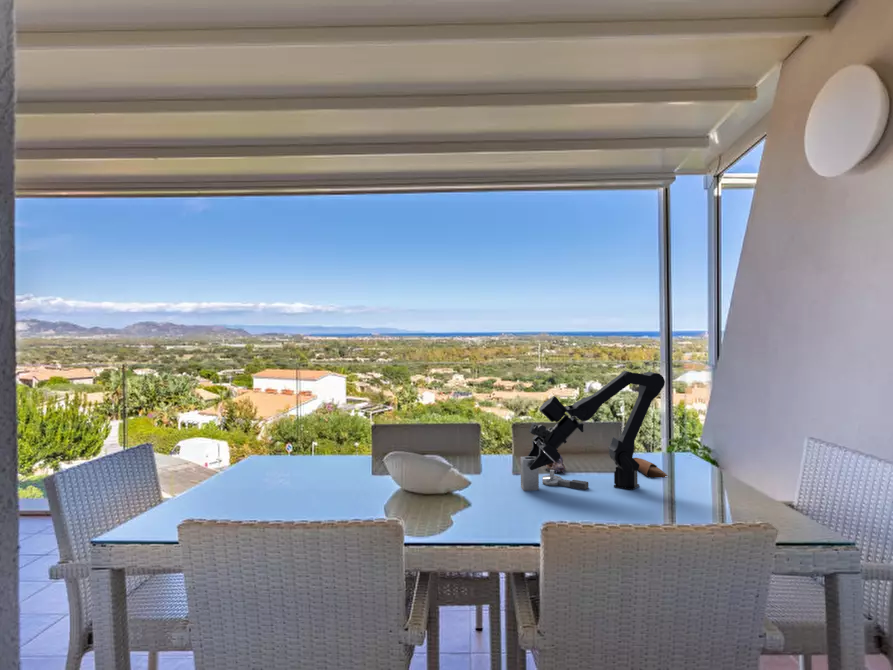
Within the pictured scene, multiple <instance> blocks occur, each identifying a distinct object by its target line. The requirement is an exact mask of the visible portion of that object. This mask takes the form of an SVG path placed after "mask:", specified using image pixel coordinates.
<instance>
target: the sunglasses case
mask: <svg viewBox="0 0 893 670" xmlns="http://www.w3.org/2000/svg"><path fill="white" fill-rule="evenodd" d="M632 458H633V459H634V460H635V461H636V462H637V463H638V464H639V465H640V466H639V468H638V471H639V472H640V473H641V474H643V475H645V476H646V477H647V478H648V477H662V478H666V477H665V476H668V477H669V475H667V473H665V471H663V470H662V469H661V468H659V467H658V465H656V464H655V463H652V462H651V461H648V460H646V459H643V458H639V457H632Z"/></svg>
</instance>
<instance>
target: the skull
mask: <svg viewBox="0 0 893 670" xmlns="http://www.w3.org/2000/svg"><path fill="white" fill-rule="evenodd" d="M552 461H553V462H554V463H551V464H548V465H545V466H544V467H546V468H547V469H549V471H550V470H554V473H556V474H557V472H562V473H563V474H565V470H566V466H565V465H564V459H563V456H562V455H561V454H560V459H559V460H558V461H557V462H555V461H554V460H552Z"/></svg>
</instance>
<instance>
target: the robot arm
mask: <svg viewBox="0 0 893 670" xmlns="http://www.w3.org/2000/svg"><path fill="white" fill-rule="evenodd" d="M630 384H631V385H636V386H638V395H637V397H636V400H635V402H634V404H633V407H632V409H631V412H630V414H629V416H628V418H627V421H626V423H625V425H624V428H623V430H622V432H621V434H620V436H618V438H616V437H612V439H611V442H610V445H609V446H608V447H607V448H608V449H609V450H608V455H609V457H610V459H611V460H612V461H613V462H614V464H615V471H614V472H613V474H614V475H613V483H614V485H613V487H614V488H617V489H618V488H619V489H624V488H625V490H630V489H632V490H633V489H634V490H636V489H637V488H638V487H640V484H639V483H638V481H639V480H638V471H639V470H638V468H639V466H640V465H639V464H638V463H637V462H636V461H635V460H634V459H633V458H634V453H635V443H636V442H635V441H636V438H637V436H638V434H639V431H640V429H641V427H642V424H643V423H644V420H645V418H646V416H647V413H648V410H649V408H650V406H651V404H652V402H653V400H655V398H657V396H659V394H660V393H661V391H662V390H663V388H664V387H665V384H666V381H665V379H664V377H663V375H661V373H658V372H652V371H647V372H643V373H638V372H632V371H628V370H623V371H622V372H620V374H618V375H617V376H616V377H614V378H613V379H612V380H610V381H609V382H608V383H606V385H604V386H602V387H601V388H600V389H599V390H597V391H596V392H594V393H593V394H591V395H589V396H586V397H584V398H581V399H579V400H577V401H575V402H574V403H573V404H572V405H571V404H570V405H563V403H562V402H560V400H559V399H558V398H557V396H555V395H553V396H552V397H551V398H548V400H546V401H544V402H543V403H542V405H541V406H540V407H539V409H538V410H539V411H540V412H541V413H542V414H543V415H544V416H545V417H546V418H547V419H548V420H549V422H551V423H553V422H555V423H556V424H555V425H554V426H550V427H548V428H547V426H545V425H543V424H537V423H535V422H532V423H531V426H530V427H529V430H528V432H529V434H531V435H534V436H533V437H532V438H531V439H532V440H531V444H532V445H531V449H530V451H529V453H528V455H527V456H536V457H537V458H536V459H535V460H534V462H533V463H532V465H531V466H530V469H531V470H534V469H537V468H539V469H540V468H541V467H546V466H545V465H548V464H551V463H554V462H553V461H552V460H554V461H555V462H557V461H558V460H559V459H560V455H561V453H560V452H559V450H558V449H559V448H560V447H561V446H562V445H563V444H564V445H565V444H566V443H568V442H567V440H568V439H569V438H570V437H571V435H572V434H573V433H574V432H575V431H576V430H578V431H579V432H581V433H584V431H585V430H584V425H585V424H584V423H583V422H586V421H589V420H591V419H592V418H593V416H595V414H596V413H597V412H598V411H599V409H600V408H601V406H602V405H604V404H605V403H606V402H608V401H609V400H610V399H611V398H613V397H614V396H615V395H617V394H618V393H619V392H621V391H622V390H623V389H626V387H628V386H630ZM567 414H568V415H570V416H572V417H569V416H568V415H567ZM575 418H576V419H575ZM577 419H578V420H579V421H582V422H579V421H578V420H577ZM636 487H637V488H636ZM634 490H633V491H634Z"/></svg>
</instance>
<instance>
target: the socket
mask: <svg viewBox="0 0 893 670" xmlns="http://www.w3.org/2000/svg"><path fill="white" fill-rule="evenodd" d="M536 458H537V457H536V456H528V455H527V456H520V488H521V489H522V491H524V492H527V491H528V492H530V491H531V492H532V491H537V490H538V491H540V490H539V488H540V487H539V485H540V484H539V483H540V481H539V478H540V475H539V474H540V472H539V471H540V470H539V469H540V468H537V469H534V470H531V469H530V466H531V465H532V463H533V462H534V460H535V459H536Z"/></svg>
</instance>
